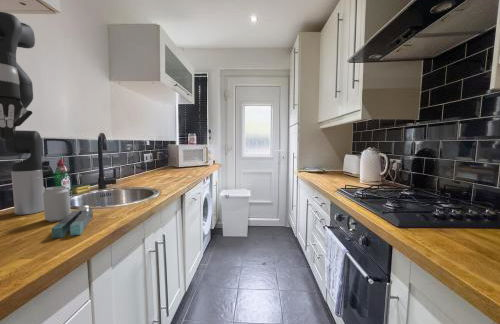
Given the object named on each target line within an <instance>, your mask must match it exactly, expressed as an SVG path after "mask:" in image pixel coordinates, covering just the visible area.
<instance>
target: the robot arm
mask: <svg viewBox="0 0 500 324" xmlns="http://www.w3.org/2000/svg"><path fill="white" fill-rule="evenodd" d="M35 42H36V38H35V33H34V29H33V28H32V27H31V26H30V25H29V24H27V23H25V22H24V23H23V22H22V21H20V20H19V18H18V17H17V16H15V15H14V14H12V13H8V12H4V11H0V139H2V142H3V143H2V144H3V148H4V151H5V152H6V153H7V154H11V155H14V154H15V155H18V154H19V155H20V154H21V155H23V154H24V155H25V154H26V155H27V154H30V155H29V156H28V157H27V158H25V159H24V160H21V161H17V162H15V163H11V164H10V173H11V183H12V185H11V186H12V194H13V195H12V196H13V207H14V209H13V210H14V215H17V216H22V215H32V214H36V213H41V212H43V211H44V199H43V193H44V192H45V191H46V190H45V189H46V187H45V186H44V175H43V174H44V173H43V161H42V137H41V133H39V132H38V131H37V130H16V128H17V127H20V126H21V125H22V124H23V123H25V122H26V121H27V120H28V119H29V117H30V116H31V115H32V114H33V111H31V110H29V109H27V108H28V107H29V106H30V105H31V103H32V102H33V100H34V90H33V89H34V88H33V82H32V79H31V78H30V76H29V75H28V74H27V72H26V71H25V70H24V69H23V68H22V66H20V65H19V63H18V62H17V49H18V48H20V49H21V48H22V49H33V48H34V46H35Z"/></svg>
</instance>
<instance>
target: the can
mask: <svg viewBox="0 0 500 324" xmlns="http://www.w3.org/2000/svg"><path fill="white" fill-rule="evenodd" d="M43 199H44V219H45V221H48V222H50V223H51V222H52V223H53V222H54V223H55V222H61V221H62V220H63V219H64V218H65V217H67V216H68V215H69V214H70V213H71V212H72V211H71V209H72V208H71V197H70V189H68V186H64V185H63V186H62V185H60V186H59V185H58V186H50V187H45V192H44V193H43Z"/></svg>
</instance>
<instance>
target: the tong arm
mask: <svg viewBox="0 0 500 324" xmlns="http://www.w3.org/2000/svg"><path fill="white" fill-rule="evenodd" d="M93 211H94V209H93V208H89V209H85V210H84V211H83V212H82V213H81V214H80V215H79V217H78V218H77V219H76V220H75V221H74V222H73V223H72V224H71V225H70V230H69V232H70V233H69V234H70V237H73V236H80V235H82V233H83V232H84V230H85V229H86V227H87V226H88V224H89V223H90V221H91V220H92V219H93V217H94V215H93V214H94V213H93Z"/></svg>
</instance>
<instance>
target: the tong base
mask: <svg viewBox="0 0 500 324" xmlns="http://www.w3.org/2000/svg"><path fill="white" fill-rule="evenodd" d="M78 209H79V210H72V211H71V213H70V214H69V215H68V216H67V217H65V218H64V219H63V220H62V221H58V223H56V224H55V225H54V226H53V227H51V239H52V240H53V239H62V238H65V236H66V235H67V233H69V232H70V225H71V224H72V223H73V222H74V221H75V220H76V219H77V218H78V217H79V215H80V214H81V213H82V212H83V211H84V210H85V209H90V207H89V204H88V205H86V204H85V205H84V204H83V205H80V206H79V208H78Z"/></svg>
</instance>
